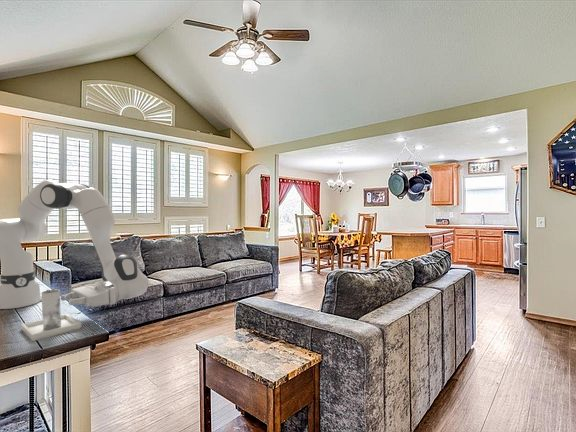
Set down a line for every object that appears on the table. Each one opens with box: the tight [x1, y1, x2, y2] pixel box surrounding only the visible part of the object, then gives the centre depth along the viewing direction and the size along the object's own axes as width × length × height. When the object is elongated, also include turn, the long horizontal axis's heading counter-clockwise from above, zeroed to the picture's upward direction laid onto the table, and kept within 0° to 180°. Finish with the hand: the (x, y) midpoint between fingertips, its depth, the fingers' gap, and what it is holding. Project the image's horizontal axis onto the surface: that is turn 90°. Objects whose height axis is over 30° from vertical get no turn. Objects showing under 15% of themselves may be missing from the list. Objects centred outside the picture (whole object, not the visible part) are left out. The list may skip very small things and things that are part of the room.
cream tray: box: [20, 313, 82, 342], centre depth 116 cm, size 16×14×2 cm
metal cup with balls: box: [41, 288, 62, 331], centre depth 115 cm, size 5×5×14 cm
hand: (65, 300), depth 118 cm, fingers open, 8 cm apart
